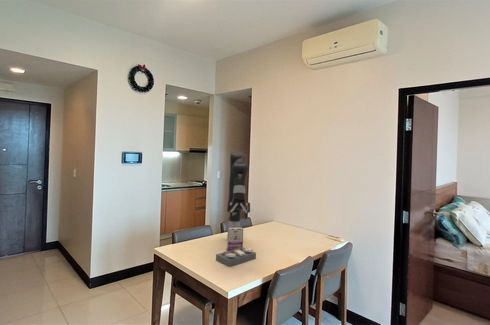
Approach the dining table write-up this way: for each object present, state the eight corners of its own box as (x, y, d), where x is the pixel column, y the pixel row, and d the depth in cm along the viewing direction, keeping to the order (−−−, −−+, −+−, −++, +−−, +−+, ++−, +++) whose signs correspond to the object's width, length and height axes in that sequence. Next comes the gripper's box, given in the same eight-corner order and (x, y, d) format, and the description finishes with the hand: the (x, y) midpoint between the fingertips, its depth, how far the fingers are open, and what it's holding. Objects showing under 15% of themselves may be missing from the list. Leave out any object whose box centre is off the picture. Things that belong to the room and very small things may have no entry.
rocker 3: (243, 251, 190) (242, 249, 190) (247, 250, 193) (246, 248, 193) (249, 252, 186) (248, 250, 186) (253, 251, 189) (253, 248, 189)
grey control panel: (215, 260, 183) (216, 254, 183) (241, 252, 200) (242, 247, 200) (229, 266, 173) (229, 260, 173) (255, 258, 190) (256, 252, 190)
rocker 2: (234, 252, 185) (234, 250, 185) (238, 251, 188) (239, 249, 187) (240, 256, 181) (240, 254, 180) (244, 255, 183) (244, 253, 183)
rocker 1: (225, 256, 179) (225, 254, 179) (229, 255, 182) (229, 252, 182) (231, 257, 175) (231, 255, 175) (235, 256, 178) (235, 253, 178)
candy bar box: (241, 248, 209) (242, 227, 209) (242, 250, 204) (243, 228, 204) (226, 248, 207) (227, 227, 207) (227, 251, 202) (228, 229, 202)
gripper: (249, 195, 178) (249, 220, 173) (227, 194, 178) (226, 219, 172) (250, 192, 171) (250, 218, 166) (228, 191, 171) (226, 217, 165)
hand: (238, 219), depth 169 cm, fingers open, 8 cm apart
